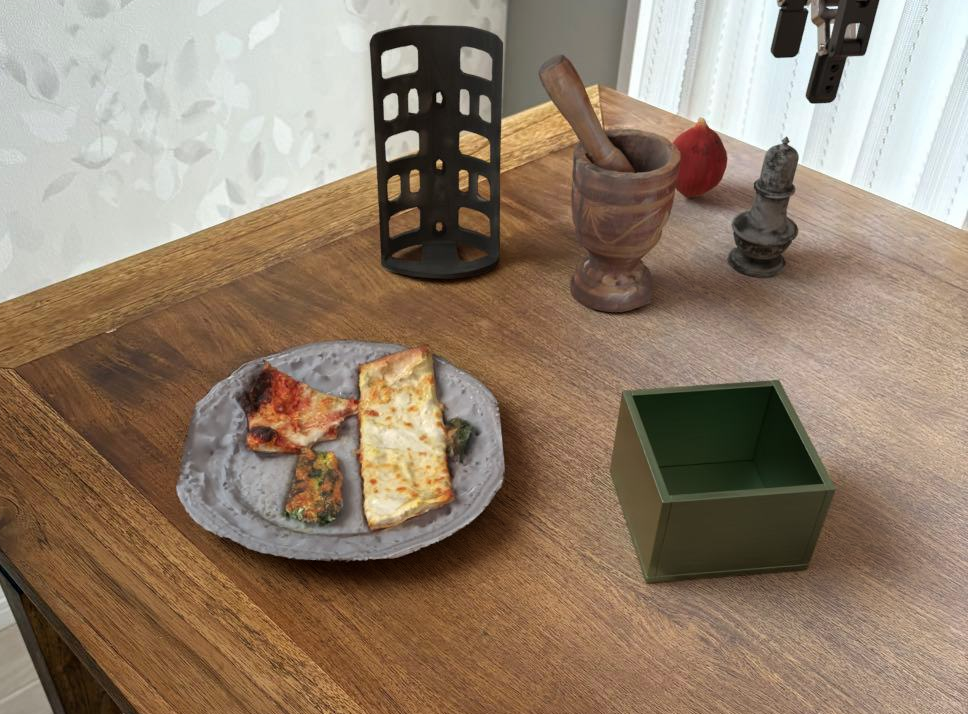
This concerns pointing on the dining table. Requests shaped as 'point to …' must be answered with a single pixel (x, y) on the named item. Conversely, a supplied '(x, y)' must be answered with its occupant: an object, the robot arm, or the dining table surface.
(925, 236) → the dining table surface
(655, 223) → the mortar and pestle
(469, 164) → the holder
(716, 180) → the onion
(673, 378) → the dining table surface
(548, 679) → the dining table surface
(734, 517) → the box
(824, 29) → the robot arm
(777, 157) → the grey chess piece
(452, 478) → the food plate
